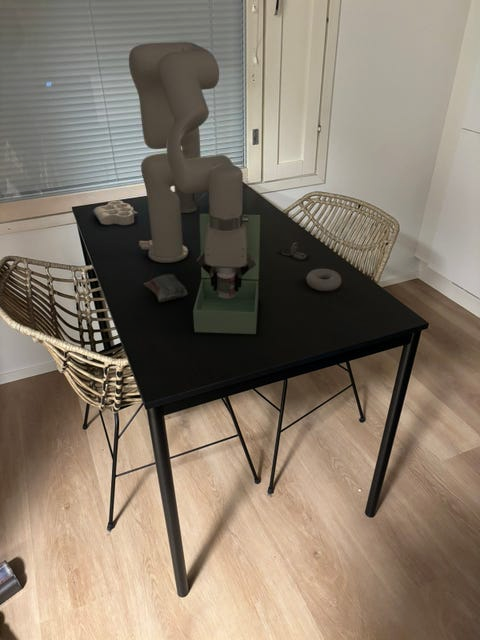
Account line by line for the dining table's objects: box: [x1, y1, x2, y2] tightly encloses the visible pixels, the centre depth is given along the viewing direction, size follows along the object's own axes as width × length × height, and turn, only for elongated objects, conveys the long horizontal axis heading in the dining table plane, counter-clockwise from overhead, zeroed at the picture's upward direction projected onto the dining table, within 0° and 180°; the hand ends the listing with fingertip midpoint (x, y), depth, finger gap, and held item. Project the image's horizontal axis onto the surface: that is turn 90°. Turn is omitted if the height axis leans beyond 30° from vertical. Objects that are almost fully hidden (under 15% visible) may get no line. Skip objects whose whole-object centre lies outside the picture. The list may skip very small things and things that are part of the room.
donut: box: [305, 268, 342, 292], centre depth 141 cm, size 10×4×10 cm
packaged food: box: [143, 273, 189, 303], centre depth 136 cm, size 9×12×5 cm
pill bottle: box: [217, 266, 236, 298], centre depth 123 cm, size 5×5×8 cm
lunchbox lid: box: [199, 213, 261, 281], centre depth 129 cm, size 17×15×5 cm
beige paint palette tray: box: [92, 200, 139, 226], centre depth 185 cm, size 3×18×15 cm
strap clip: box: [280, 242, 308, 261], centre depth 157 cm, size 8×3×4 cm, turn 51°
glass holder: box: [173, 185, 209, 214], centre depth 189 cm, size 9×14×15 cm, turn 82°
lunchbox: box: [192, 278, 260, 335], centre depth 127 cm, size 16×15×6 cm
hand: (226, 287), depth 124 cm, fingers closed on pill bottle, 4 cm apart
